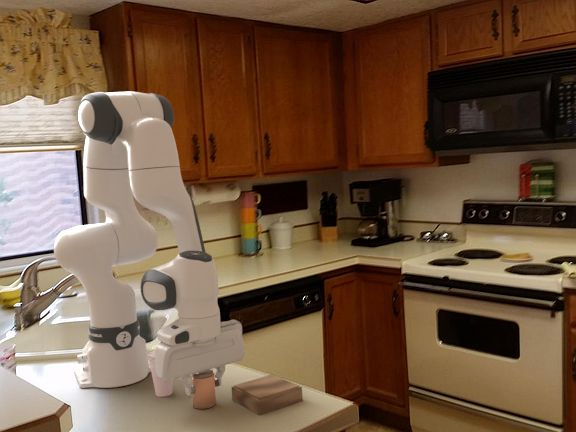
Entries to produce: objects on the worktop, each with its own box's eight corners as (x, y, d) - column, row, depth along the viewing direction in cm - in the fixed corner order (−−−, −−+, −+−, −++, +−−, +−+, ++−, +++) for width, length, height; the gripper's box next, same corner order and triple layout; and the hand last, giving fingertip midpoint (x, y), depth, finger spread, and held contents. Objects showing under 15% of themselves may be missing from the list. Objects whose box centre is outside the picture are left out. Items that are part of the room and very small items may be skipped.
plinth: (232, 400, 134) (231, 385, 133) (273, 387, 140) (272, 373, 140) (260, 415, 125) (259, 399, 124) (302, 400, 131) (301, 385, 131)
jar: (188, 403, 132) (186, 372, 131) (208, 397, 135) (207, 366, 134) (199, 410, 128) (197, 378, 127) (220, 404, 131) (218, 372, 130)
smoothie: (165, 400, 135) (161, 339, 134) (143, 396, 138) (139, 336, 137) (183, 390, 141) (179, 331, 140) (162, 387, 144) (158, 329, 143)
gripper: (233, 315, 139) (236, 374, 140) (149, 333, 127) (154, 398, 128) (248, 320, 134) (252, 381, 135) (162, 339, 122) (167, 406, 123)
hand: (203, 389), depth 131 cm, fingers closed on jar, 5 cm apart
